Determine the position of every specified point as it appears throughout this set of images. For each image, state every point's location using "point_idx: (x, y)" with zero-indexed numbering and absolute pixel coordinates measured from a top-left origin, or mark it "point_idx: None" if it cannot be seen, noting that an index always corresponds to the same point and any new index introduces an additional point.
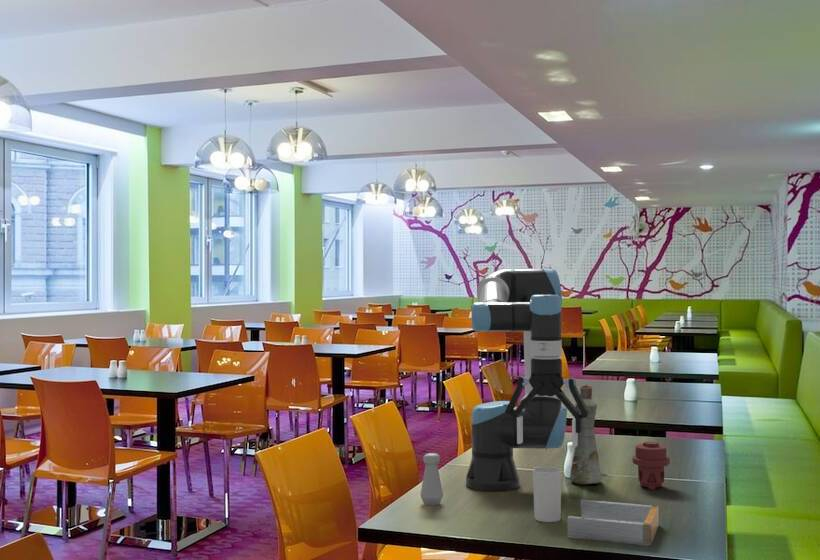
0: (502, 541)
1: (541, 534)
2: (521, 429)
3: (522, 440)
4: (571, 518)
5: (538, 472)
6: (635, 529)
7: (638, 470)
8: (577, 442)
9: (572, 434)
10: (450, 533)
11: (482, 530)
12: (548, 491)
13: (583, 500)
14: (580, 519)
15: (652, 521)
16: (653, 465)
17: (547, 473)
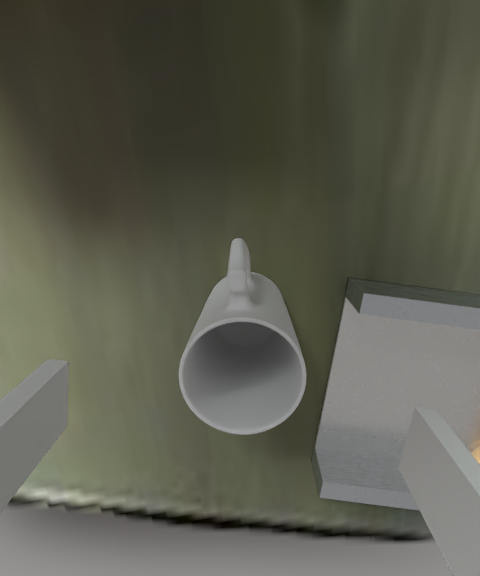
0: (162, 509)
1: (244, 446)
2: (17, 449)
3: (62, 376)
4: (330, 497)
5: (210, 424)
6: None
7: None
8: (443, 424)
9: (434, 536)
10: None
11: (94, 442)
12: (253, 389)
13: (368, 305)
14: (355, 501)
15: None
16: None
17: (250, 431)
